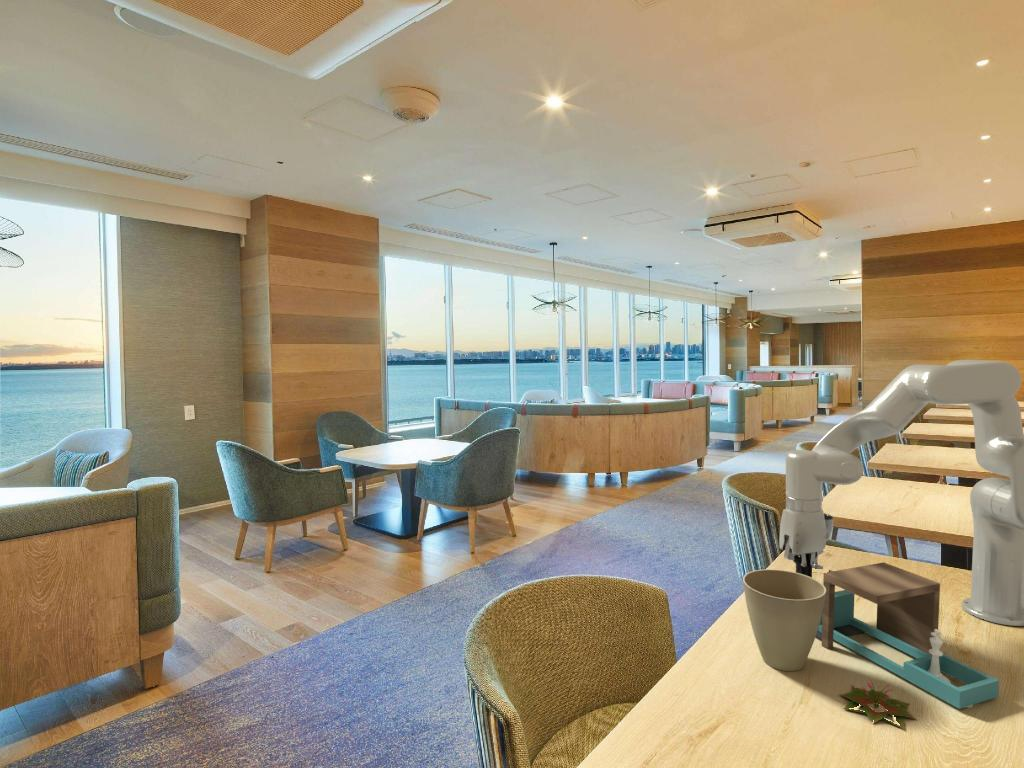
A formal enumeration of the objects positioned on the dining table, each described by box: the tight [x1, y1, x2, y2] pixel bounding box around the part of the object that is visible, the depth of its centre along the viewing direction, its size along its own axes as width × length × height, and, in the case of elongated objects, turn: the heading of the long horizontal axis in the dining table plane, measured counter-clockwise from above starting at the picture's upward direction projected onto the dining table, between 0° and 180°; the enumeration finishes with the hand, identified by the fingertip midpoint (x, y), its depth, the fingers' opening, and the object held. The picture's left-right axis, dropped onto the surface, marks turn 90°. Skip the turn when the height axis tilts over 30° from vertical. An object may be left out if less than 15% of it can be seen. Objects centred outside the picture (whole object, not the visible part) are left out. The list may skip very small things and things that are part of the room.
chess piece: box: [927, 628, 952, 684], centre depth 109 cm, size 5×5×10 cm
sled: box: [818, 589, 1000, 710], centre depth 116 cm, size 10×31×7 cm, turn 20°
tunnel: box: [815, 562, 941, 655], centre depth 125 cm, size 17×23×16 cm
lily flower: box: [839, 680, 917, 731], centre depth 102 cm, size 12×12×5 cm
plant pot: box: [742, 568, 826, 672], centre depth 116 cm, size 15×15×16 cm
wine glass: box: [812, 512, 834, 569], centre depth 165 cm, size 8×8×15 cm
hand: (803, 580), depth 138 cm, fingers closed
